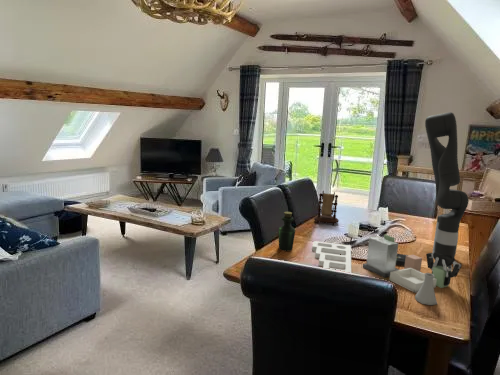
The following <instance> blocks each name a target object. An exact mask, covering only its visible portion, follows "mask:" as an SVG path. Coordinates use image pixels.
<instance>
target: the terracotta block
mask: <svg viewBox="0 0 500 375" xmlns="http://www.w3.org/2000/svg"><path fill="white" fill-rule="evenodd" d="M407 255H408V256H406V259H405V266H403V267H404V268H403V269H407V268H412V269H415V270H417V271H419V272H421V269H422V261H423V257H421V256H418V255H415V254H407Z"/></svg>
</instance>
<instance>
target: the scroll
mask: <svg viewBox="0 0 500 375" xmlns="http://www.w3.org/2000/svg"><path fill="white" fill-rule="evenodd" d="M318 197H319V199H318V208H317V215H316V216H314V218H313V220H314V221H315V222H316V224H317V225H319V223H321V224H329V225H332V226H335V224H339V219H338V218H337V206H338V198H339V195H338V194H336V191H333V193H327V192H325V191H324V190H322V193H319V194H318Z"/></svg>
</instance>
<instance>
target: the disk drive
mask: <svg viewBox="0 0 500 375" xmlns="http://www.w3.org/2000/svg"><path fill="white" fill-rule="evenodd" d="M408 255H409V254H403V253H397V258H396V265H395V266H402V267H404V266H405V259H406V256H408Z"/></svg>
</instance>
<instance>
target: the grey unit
mask: <svg viewBox="0 0 500 375" xmlns="http://www.w3.org/2000/svg"><path fill="white" fill-rule="evenodd" d="M383 235H384V236H383V237H382V236H372V237H369V240H368V245H367V247H368V249H367V254H366V255H367V256H366V262H365V263H363V264H362V268H364V269H366V270H368V271H369V272H372V273H373V274H376V275H378V276H380V277H382V278H383V279H384V278H390V272H393V271H397V270H400V269H399V268H396V266H397V265H396V258H397V254H398V247H399V242H396V241H395V240H396V238H395V237H393V236H391V235H388V234H383Z"/></svg>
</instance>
